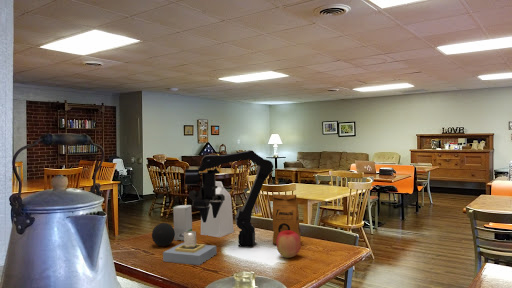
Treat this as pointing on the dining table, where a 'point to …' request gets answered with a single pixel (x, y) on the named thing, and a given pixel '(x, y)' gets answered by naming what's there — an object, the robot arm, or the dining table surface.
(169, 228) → the speaker
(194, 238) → the spout can
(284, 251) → the apple
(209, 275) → the dining table surface
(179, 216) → the skincare box
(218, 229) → the milk
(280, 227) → the coffee package
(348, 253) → the dining table surface
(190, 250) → the grey flat square piece
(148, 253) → the dining table surface
